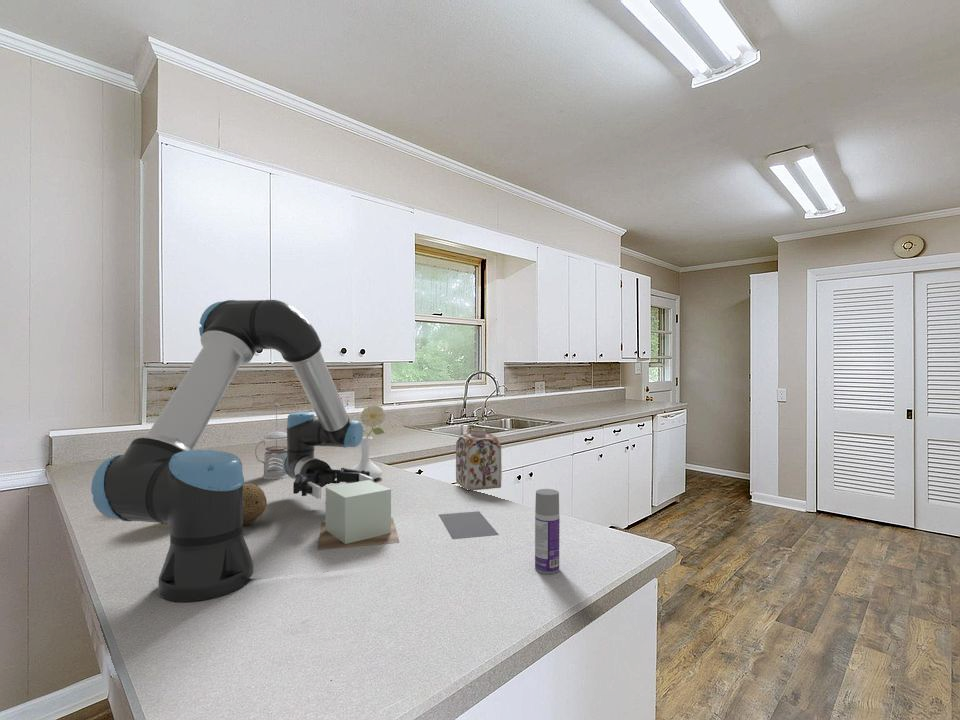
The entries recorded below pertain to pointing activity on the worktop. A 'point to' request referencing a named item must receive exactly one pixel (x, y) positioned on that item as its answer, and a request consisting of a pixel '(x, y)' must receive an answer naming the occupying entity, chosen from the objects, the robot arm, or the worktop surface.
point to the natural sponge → (252, 503)
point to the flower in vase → (370, 418)
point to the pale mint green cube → (358, 511)
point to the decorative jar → (478, 461)
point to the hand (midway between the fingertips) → (346, 488)
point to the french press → (274, 455)
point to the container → (547, 531)
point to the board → (332, 542)
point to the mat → (467, 525)
